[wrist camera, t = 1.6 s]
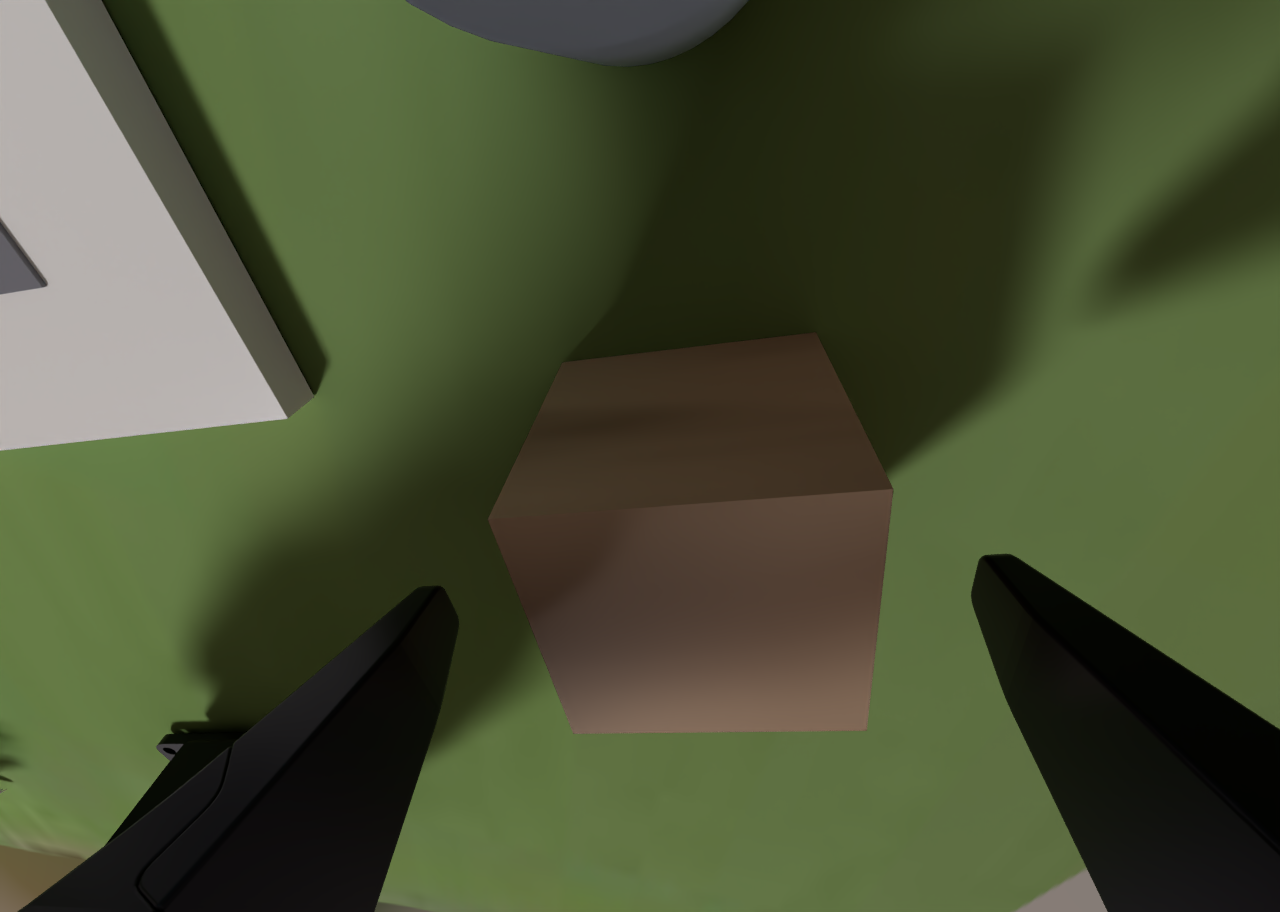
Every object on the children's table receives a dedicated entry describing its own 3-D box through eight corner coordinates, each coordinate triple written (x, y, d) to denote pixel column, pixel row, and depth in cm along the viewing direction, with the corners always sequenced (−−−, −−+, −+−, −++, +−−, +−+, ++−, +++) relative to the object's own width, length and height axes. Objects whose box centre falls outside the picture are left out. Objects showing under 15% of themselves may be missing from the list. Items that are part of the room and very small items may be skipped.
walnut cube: (812, 529, 14) (866, 730, 9) (608, 542, 15) (573, 733, 10) (815, 330, 11) (893, 489, 7) (563, 360, 12) (487, 519, 7)
